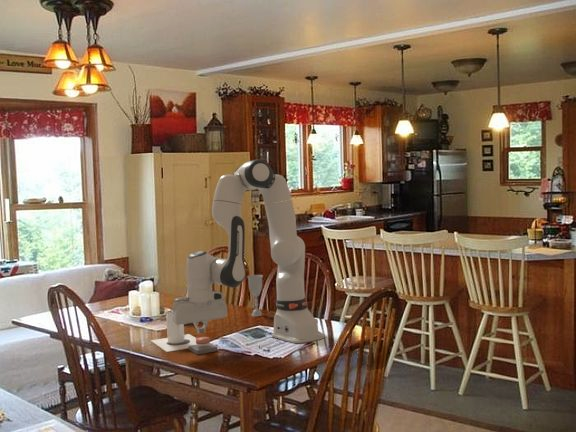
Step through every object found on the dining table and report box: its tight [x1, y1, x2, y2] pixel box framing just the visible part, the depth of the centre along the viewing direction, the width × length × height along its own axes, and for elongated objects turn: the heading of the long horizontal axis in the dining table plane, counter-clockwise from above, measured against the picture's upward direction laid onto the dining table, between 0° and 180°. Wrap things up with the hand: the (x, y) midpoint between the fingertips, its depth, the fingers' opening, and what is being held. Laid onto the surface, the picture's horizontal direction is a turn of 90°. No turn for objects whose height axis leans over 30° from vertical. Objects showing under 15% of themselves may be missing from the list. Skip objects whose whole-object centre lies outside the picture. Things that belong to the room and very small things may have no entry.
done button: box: [195, 336, 211, 344], centre depth 234 cm, size 5×5×2 cm
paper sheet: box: [150, 333, 197, 353], centre depth 246 cm, size 20×16×1 cm
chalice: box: [246, 274, 264, 317], centre depth 289 cm, size 7×7×18 cm
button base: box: [188, 341, 218, 356], centre depth 234 cm, size 8×8×2 cm
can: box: [165, 309, 185, 344], centre depth 246 cm, size 6×6×12 cm
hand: (201, 332), depth 234 cm, fingers closed
